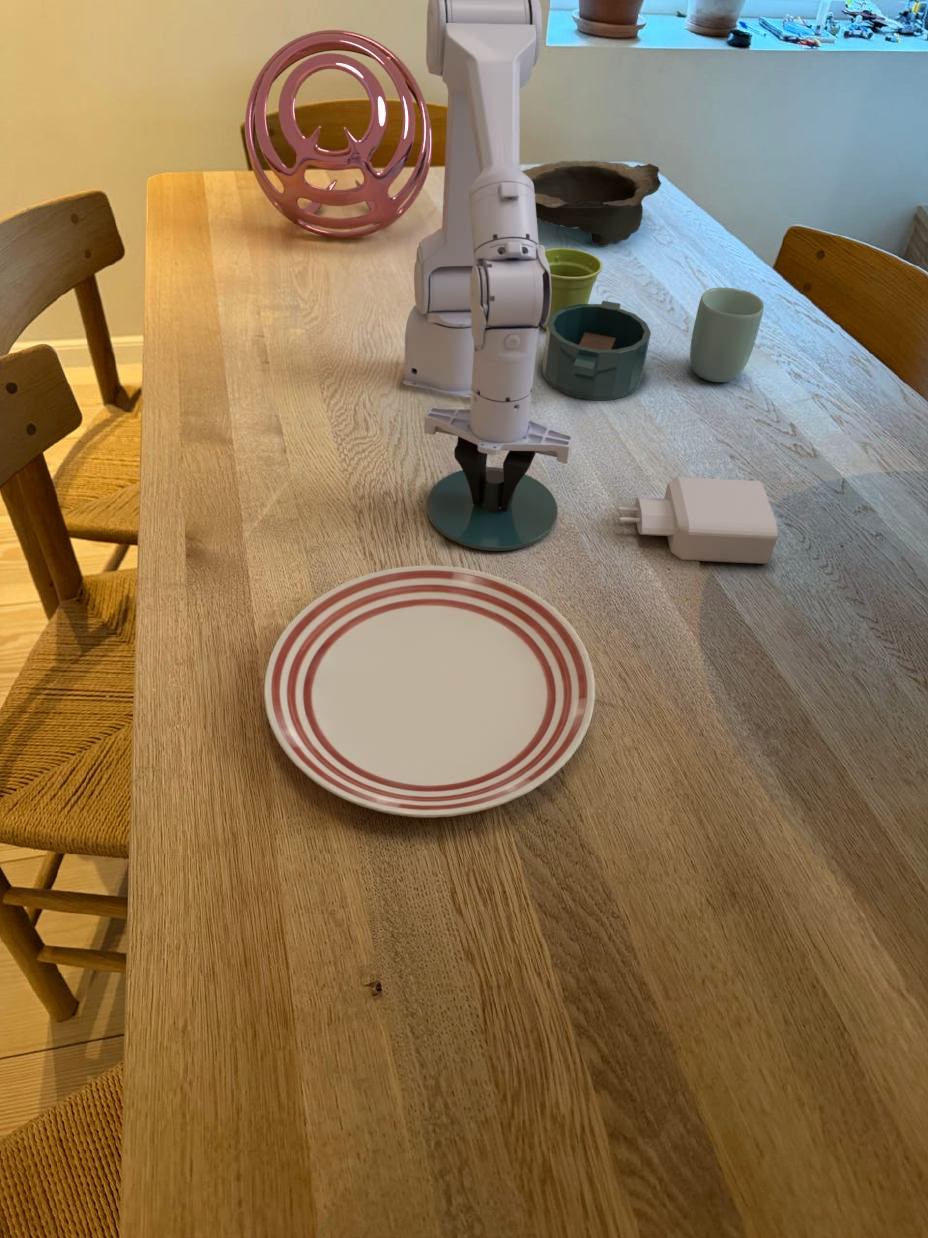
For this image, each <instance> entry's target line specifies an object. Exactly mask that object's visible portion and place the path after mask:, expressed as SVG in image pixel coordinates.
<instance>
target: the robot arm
mask: <svg viewBox="0 0 928 1238" xmlns="http://www.w3.org/2000/svg"><path fill="white" fill-rule="evenodd" d="M542 37H543V14H542V6H541V3H540V0H428V3H427V12H426V49H425V58H426V59H425V63H426V68H427V72H428V73H429V74H432V75H435V76H438V77H441V81H442V82H443V83H444V84H445V85H446V88H447V111H446V130H445V131H446V132H445V133H446V134H445V154H444V156H445V157H444V178H443V197H442V198H443V200H442V222H441V225H442V226H441V228H439V229H437V230H435V231H434V232H433V233H431V234H429V235H427V236H426V237H425V238H422V240H421V241H419V242H418V247H417V248H416V259H415V263H414V269H413V287H414V289H413V290H414V300H415V301H414V302H415V305H413V306H412V308H411V310H410V312H409V315H408V316H407V321H406V325H405V332H404V380H403V381H402V384H403V385H407V386H410V387H411V386H412V387H416V388H422V389H426V390H431V391H435V392H439V393H440V392H441V393H445V394H450V395H456V396H461V397H464V398H465V397H466V398H470V406H469V407H470V408H441V407H435V406H431V407H430V408H429V409H428V410H427V412H426V414H425V416H424V425H423V426H424V428H423V429H424V431H423V432H424V434H426V435H431V436H434V435H436V433H441V434H446V435H449V436H455V437H457V441H456V446H455V448H454V451H453V453H454V454H453V455H454V459H455V461H456V462H457V463H458V465H459V466H460V468H461V470H463V471H464V474H465V476H466V478H467V481H468V484H469V487H470V491H471V495H472V501H473V504H475V505H479V504H480V502H481V494H482V481H483V474H484V473H485V472H486V467H487V462H488V455H490V456H497V455H498V454H499V453H500V452H502V451H503V452H505V451H506V452H507V454H506V456H505V458H504V461H503V462H502V468H503V472H504V487H503V494H502V500H501V511H506V512H507V511H508V509H509V507H510V505H511V503H512V499H513V495H514V492H515V488H516V486H517V484H518V483H519V481H520V480H521V478H522V477H523V476H524V475H525V474H526V473H527V472H528V470H529V469H530V467H531V465H532V463H533V460H534V458H535V456H536V454H539V455H544V456H549V457H553V458H556V461H557V462H559V463H562V464H568V462H569V459H570V457H571V455H572V450H573V445H574V444H573V443H574V436H573V435H569V434H566V433H562V432H560V431H556V430H554V429H552V428H550V427H548V426H545V425H543V424H540V423H539V422H536V421H534V420H532V419H530V413H531V404H532V397H533V396H532V395H533V389H534V388H533V387H534V377H535V369H536V359H537V350H538V340H539V332H540V326H539V324H540V325H541V327H542V326H545V325H546V323H547V321H548V318H549V314H550V308H551V275H550V268H549V264H548V261H547V258H546V256H545V250H546V249H545V247H544V244H540V243H539V230H538V219H537V217H536V204H535V192H534V184H533V182H532V180H531V179H530V178H529V177H528V176H527V175H525V174H524V173H523V172H522V171H523V170H521V167H520V139H521V138H520V137H521V136H520V134H521V133H520V132H521V131H520V130H521V129H520V126H521V125H520V124H521V123H520V119H521V118H520V113H521V112H520V110H521V108H520V106H521V105H520V104H521V103H520V101H521V99H520V98H521V97H520V95H521V94H520V93H521V91H520V90H521V89H522V88H524V87H525V86H526V85H528V84H529V82H530V80H531V76H532V73H533V69H534V67H535V66H536V65H537V64H538V61H539V57H540V53H541V48H542V47H541V46H542ZM539 322H540V323H539Z"/></svg>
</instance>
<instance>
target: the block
mask: <svg viewBox="0 0 928 1238" xmlns="http://www.w3.org/2000/svg"><path fill="white" fill-rule="evenodd" d="M615 339H616V338H613V337H607V336H602V335H597V334H591V333H586V332H585V333H584V335H583V337H582V339H581V342H580V344H579V346H582V347H588V348H593V349H598V350H614V345H615Z"/></svg>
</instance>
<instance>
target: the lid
mask: <svg viewBox="0 0 928 1238" xmlns="http://www.w3.org/2000/svg"><path fill="white" fill-rule="evenodd" d="M503 487H504V472H503V467H497V466H496V467H495V466H486V472H485V473H484V474H483V481H482V494H481V502H480V504H479V505H475V504H473V501H472V495H471V491H470V487H469V484H468V481H467V478H466V476H465V474H464V471H463V470H462V469H461V470H457V471H455V472H452V473H449V474H448V475H446V476H445V477H443V478H441V479H440V480H439V481H437V482H436V483H435V484H434V486H432V488H431V489H430V490H429V493H428V495H427V499H426V513H427V516H428V519H429V521H430V522H431V524H432V525H433V527H434V528H435V529H436V530H437V531H438V532H439V533H440V534H442V536H445V537H446V538H448V540H451V541H453V542H454V543H456V544H460V545H462V546H465V547H468V548H472V549H475V550H481V551H482V550H483V551H491V552H492V551H493V552H501V551H504V552H505V551H513V550H518V549H521V548H527V547H528V546H531V545H534V544H535V543H537V542H539V541H540V540H542V539H544V538H545V537H546V536H547V535H548V534H550V532H551V531H552V530H553V529H554V527H555V525H556V523H557V518H558V504H557V501H556V499H555V497H554V495H553V493H552V492H551V491H550V490H549V488H547V487H546V486H545V485H544V484H543V483H541V482H540V481H539V480H537V479H536V478H533V477H532V476H530V475H527V474H526V473H525V475H524V476H523V477H522V478H521V480H520V481H519V483H518V484H517V486H516V488H515V492H514V495H513V499H512V503H511V505H510V507H509V509H508V511H507V512H506V511H501V500H502V494H503Z"/></svg>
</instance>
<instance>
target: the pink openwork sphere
mask: <svg viewBox="0 0 928 1238" xmlns="http://www.w3.org/2000/svg"><path fill="white" fill-rule="evenodd" d="M336 51H337V52H338V51H339V52H340V51H341V52H351V53H356V54H359V55H363V56H366V57H368V58H371V59H373V60H374V61H375V62H377V63H378V64H379V65H380V67H382V69H383V70H384V71H385V72H386V73H387V75H388V76H389V77H390V79H391V81H392V83H393V85H394V87H395V89H396V92H397V94H398V97H399V101H400V105H401V113H402V127H401V134H400V138H399V142H398V144H397V148H396V150H395V152H394V154H393V156H392V157H391V159H390V161H389V162H388V163H387V165H386V166H385V167H384V168H383V169H382V170H381V171H377V170H376V169H375V168H374V166H373V165H372V161H371V160H372V159H371V158H372V157H373V154H375V152H376V151H377V150H378V148H379V147H380V145H381V143H382V141H383V139H384V136H385V134H386V130H387V127H388V117H389V112H388V109H389V108H388V102H387V98H386V95H385V92H384V89H383V87H382V85H381V83H380V81H379V80H378V78H377V76H375V74H374V73H373V72H372V71H371V70H370V69H369V68H368V67H367V66H366V65H365V64H364V63H362V62H360V61H359V60H357V59H356V58H354V57H351V56H348V55H346V54H341V53H332V52H336ZM324 52H327V53H324ZM329 52H331V53H329ZM319 53H321V54H319ZM312 55H314V56H312ZM310 56H311V57H310ZM307 57H309V58H307ZM305 58H307V59H305ZM302 59H305V60H303V61H302V62H300V63H299V64H298V65H296V67H294V69H293V70H292V71H291V72H290V73H289V74H288V76H287V78H286V79H285V81H284V84H283V86H282V88H281V90H280V94H279V98H278V99H279V100H278V120H279V125H280V128H281V131H282V135H283V137H284V138H285V140H286V142H287V143H288V146H289V147H290V148H291V149H292V151H293V153H294V154H295V157H296V159H295V162H294V165H293V166H292V167H291V168H289V167H288V166H286V165H285V163H284V162H283V161H282V160H281V158H280V157H279V155H278V153H277V151H276V150H275V148H274V146H273V143H272V140H271V138H270V134H269V130H268V125H267V124H268V123H267V105H268V99H269V94H270V91H271V89H272V86H273V84H274V82H275V81H277V79H278V78H279V77H280V75H282V74H283V72H284V71H286V70H287V69H289V67H291V66H293V65H294V64H295V63H298V62H299V61H300V60H302ZM324 70H339V71H342V72H345V73H347V74H349V75H350V76H352V77H354V78H355V79H356V80H357V81H358V82H359V83H360V85H361V86H362V87H363V88H364V90H365V92H366V94H367V97H368V99H369V105H370V118H369V123H368V126H367V129H366V130H365V132H364V134H363V135H362V137H361V138H360V139H356V138H355V136H353V134H352V133H351V132H350V130H348V128H347V127H345V126H343V127H342V128H343V132H344V135H345V137H346V141H347V144H348V145H347V147H346V148H344V149H339V150H329V149H324V148H321V147H319V145H318V139H319V136H320V134H321V131H322V125H318V126H317V128H316V129H315V130H314V131H313V132H312V134H311V135H309V137H306V136H305V135H304V134H303V132H302V131H301V129H300V127H299V125H298V122H297V119H296V114H295V113H296V111H295V106H296V105H295V104H296V98H297V96H298V93H299V90H300V88H301V86H302V85H303V84H304V83H305V81H307V79H308V78H310V77H311V76H312V75H313V74H314V75H315V73H318V72H321V71H324ZM412 98H413V99H414V100H415V102H416V105H417V108H418V110H419V112H420V116H421V117H420V118H421V145H420V150H419V154H418V158H417V161H416V163H415V166H414V168H413V171H412V172H411V175H410V176H409V178H408V180H407V181H406V182H405V184H404V186H403V187H402V188H401V189H400V190H399V192H397V194H395V195H394V196H391V195H389V189H390V187H391V186H392V184H393V183H394V182H395V181H396V179H398V177H399V176H400V174H401V173H402V171H403V170H404V168H405V166H406V164H407V162H408V160H409V158H410V155H411V153H412V149H413V145H414V141H415V135H416V113H415V112H416V111H415V105H414V102H413V99H412ZM244 135H245V142H246V149H247V153H248V155H249V156H248V158H249V161H250V165H251V168H252V171H253V174H254V176H255V179H256V181H257V183H258V185H259V187H260V189H261V190H262V192H263V194H264V195H265V197H266V199H268V201H269V202H270V203H271V205H272V206H273V207H274V209H276V210H277V211H278V212H279V213H280V214H281V215H282V216H283V217H285V219H287V220H288V221H290V222H291V223H293V224H294V225H295V226H297V227H299V228H301V229H303V230H305V231H307V232H309V233H312V234H314V235H318V236H321V237H325V238H330V239H344V240H345V239H357V238H362V237H367V236H369V235H372V234H375V233H378V232H380V231H382V230H384V229H386V228H388V227H389V226H391V225H393V224H394V223H395V222H397V221H398V220H399V219H400V218H401V217H402V216H403V215H404V214H405V213H406V212H407V211H408V210H409V209H410V207H412V205H413V204H414V203H415V201H416V200H417V198H418V197H419V195H420V193H421V191H422V190H423V187H424V185H425V183H426V180H427V177H428V174H429V171H430V167H431V164H432V163H431V162H432V156H433V155H432V154H433V131H432V124H431V119H430V114H429V111H428V107H427V103H426V100H425V97H424V94H423V92H422V90H421V87H420V86H419V83H418V82H417V80H416V78H415V77H414V75H413V73H412V72H411V70H410V69H409V68H408V66H407V65H406V64H405V63H404V61H403V60H401V58H399V56H397V54H395V53H394V52H393V51H392V50H391V49H389V48H388V47H387V46H385V45H383V44H382V43H381V42H379V41H377V40H375V39H373V38H371V37H369V36H366V35H364V34H361V33H357V32H354V31H349V30H342V29H326V30H317V31H312V32H309V33H305V34H304V35H300V36H299V37H296V38H294V39H293V40H291V41H289V42H288V43H286V44H284V45H283V46H282V47H281V48H279V49H277V51H276V52H274V53H273V55H271V57H270V58H269V59H268V60H267V61H266V63H265V64H264V65H263V67H262V68H261V69H260V71H259V72H258V74H257V76H256V77H255V80H254V81H253V83H252V87H251V90H250V92H249V95H248V99H247V103H246V107H245V115H244ZM255 136H256V137H257V138H256V137H255ZM256 139H257V142H258V146H259V148H260V151H261V153H262V156H263V158H264V160H265V162H266V164H267V165H268V167H269V168H270V170H271V171H272V172H273V174H274V175H275V176H276V177H277V179H278V180H279V181H280V183H281V185H282V187H283V192H280V191H279V190H278V189H277V188H276V187H275V185H274V184H273V183H272V182H271V181H270V179H269V177H268V176H267V174H266V172H265V171H264V169H263V167H262V165H261V162H260V160H259V158H258V154H257V151H256ZM308 167H315V168H318V169H320V170H321V169H322V170H326V171H345V170H350V169H352V168H357V169H359V170H360V172H361V174H362V176H363V181H362V183H360V182H359V180H357V179H355V181H354V182H355V185H356V186H355V187H352V188H351V187H350V188H345V189H335V186H336V184H337V183H338V179H334V180H333V181H331V182H330V183H329V184H328V185H327V187H326V188H323V187H319V186H316V185H313V184H311V183H309V182H308V181H307V180H306V175H305V174H306V172H307V168H308ZM300 199H305V200H307V201H310V203H308V204H307V205H306V206H304V207H301V205H299V202H298V201H299V200H300ZM363 202H364V203H365V204H366V206H367V208H368V209H369V210H370V211H369V212H368V213H365V214H361V215H357V216H352V217H341V218H340V217H339V218H337V217H336V218H335V217H327V216H323V215H322V216H321V215H318V214H317V212H318V211H319V210H320V209H321V208H322V206H330V207H345V206H353V205H358V204H360V203H363ZM373 224H374V225H373ZM370 225H373V226H370ZM367 226H370V227H367ZM363 227H366V228H363ZM323 228H324V229H323ZM359 228H363V229H359ZM327 229H330V230H327ZM352 229H359V230H353V231H334V230H352Z"/></svg>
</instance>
